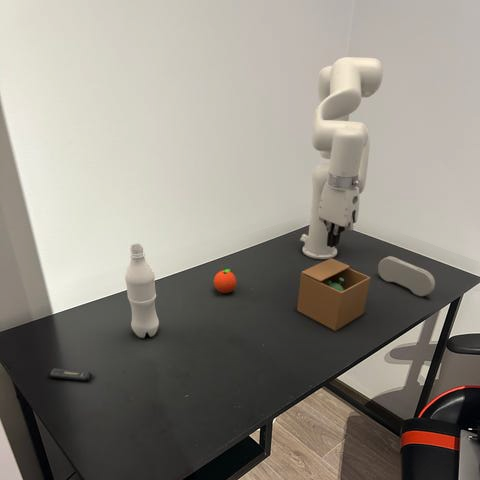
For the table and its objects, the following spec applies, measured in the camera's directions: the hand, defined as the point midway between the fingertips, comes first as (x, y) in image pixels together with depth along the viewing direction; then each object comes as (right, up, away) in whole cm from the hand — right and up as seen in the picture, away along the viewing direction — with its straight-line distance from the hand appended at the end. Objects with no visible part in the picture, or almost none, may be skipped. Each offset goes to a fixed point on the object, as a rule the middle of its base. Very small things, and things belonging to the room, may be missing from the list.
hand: (332, 245), depth 126 cm
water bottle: (-51, -24, -6) cm, 57 cm away
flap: (-2, -7, +1) cm, 7 cm away
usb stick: (-65, -34, -21) cm, 77 cm away
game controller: (+26, -11, +19) cm, 34 cm away
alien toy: (+1, -18, +5) cm, 19 cm away
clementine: (-30, -12, +14) cm, 36 cm away
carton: (0, -19, +5) cm, 19 cm away
